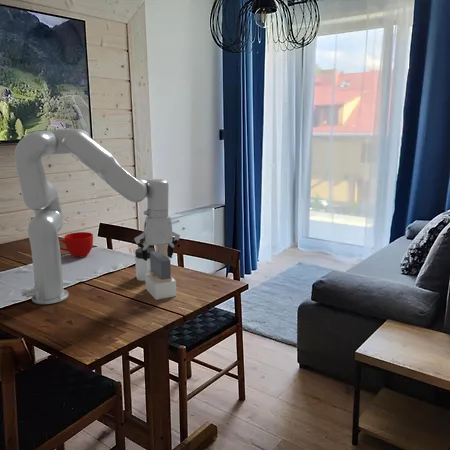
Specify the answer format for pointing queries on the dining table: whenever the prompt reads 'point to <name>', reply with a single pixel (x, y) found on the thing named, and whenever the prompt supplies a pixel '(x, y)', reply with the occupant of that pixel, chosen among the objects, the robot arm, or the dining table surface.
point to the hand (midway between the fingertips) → (157, 258)
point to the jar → (142, 263)
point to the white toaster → (160, 286)
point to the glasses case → (160, 265)
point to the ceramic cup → (78, 243)
